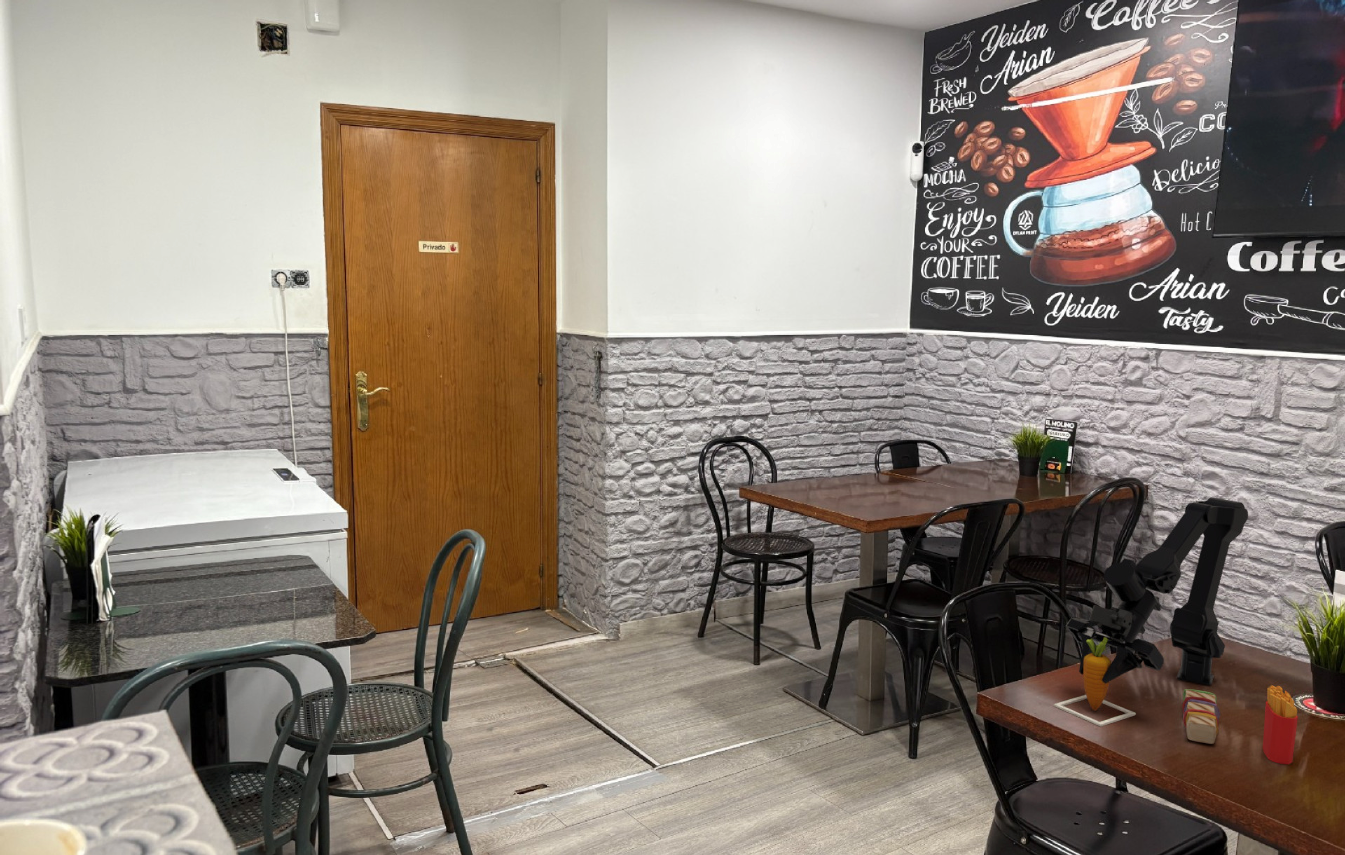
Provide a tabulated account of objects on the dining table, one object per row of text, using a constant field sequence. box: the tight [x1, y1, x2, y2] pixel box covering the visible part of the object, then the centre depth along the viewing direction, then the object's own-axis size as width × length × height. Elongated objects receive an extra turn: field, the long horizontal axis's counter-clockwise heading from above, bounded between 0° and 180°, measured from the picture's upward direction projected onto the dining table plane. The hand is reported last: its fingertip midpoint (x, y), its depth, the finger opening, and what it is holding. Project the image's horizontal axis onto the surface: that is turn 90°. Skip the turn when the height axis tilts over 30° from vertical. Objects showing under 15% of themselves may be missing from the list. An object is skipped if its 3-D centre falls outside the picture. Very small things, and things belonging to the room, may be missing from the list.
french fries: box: [1262, 684, 1299, 765], centre depth 171 cm, size 8×4×12 cm, turn 162°
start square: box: [1053, 694, 1137, 727], centre depth 190 cm, size 11×11×1 cm
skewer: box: [1181, 688, 1221, 745], centre depth 184 cm, size 21×6×5 cm, turn 152°
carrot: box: [1083, 637, 1112, 712], centre depth 189 cm, size 5×5×15 cm
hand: (1092, 677), depth 188 cm, fingers closed on carrot, 5 cm apart
